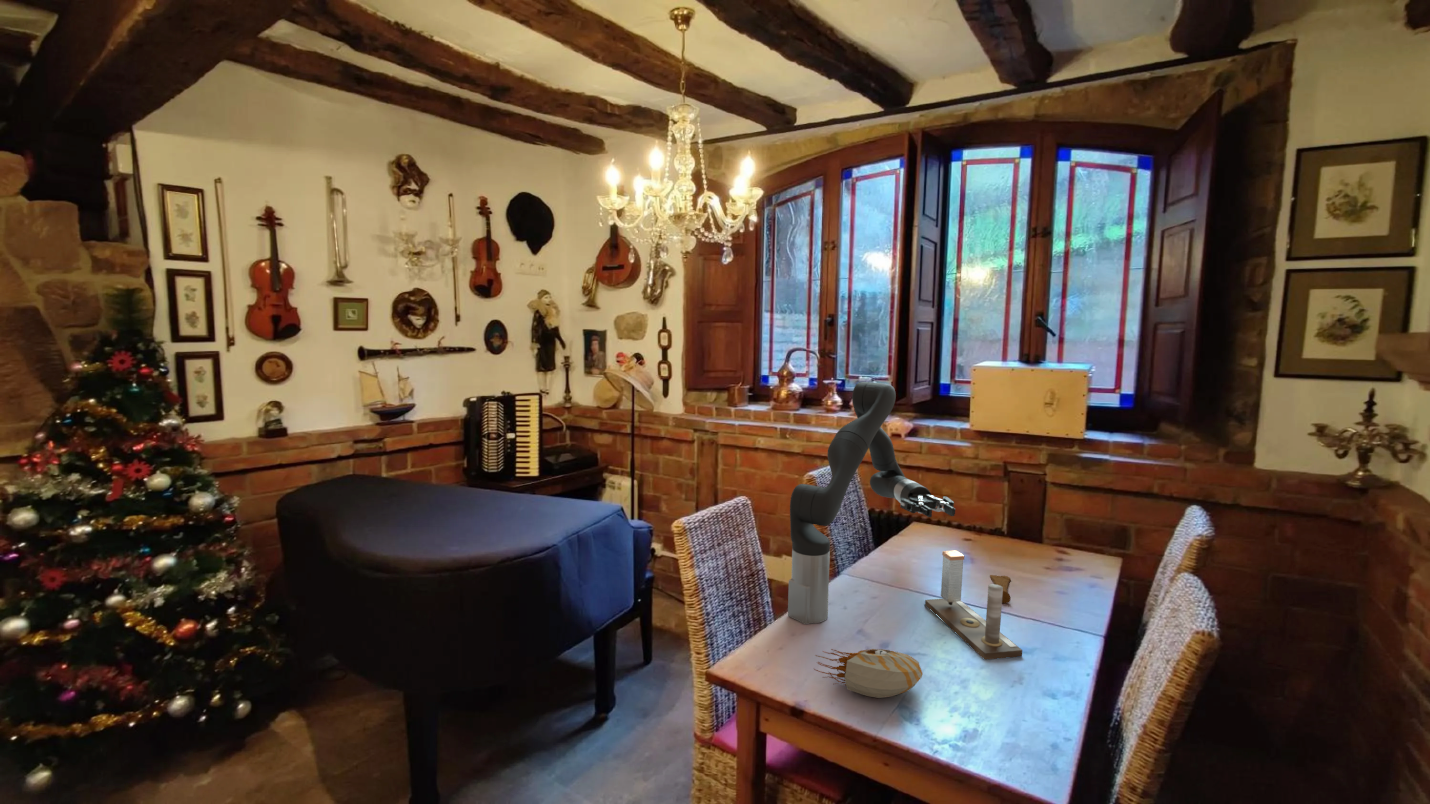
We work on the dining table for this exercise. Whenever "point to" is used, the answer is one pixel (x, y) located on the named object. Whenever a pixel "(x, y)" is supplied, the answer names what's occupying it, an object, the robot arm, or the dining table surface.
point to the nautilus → (877, 672)
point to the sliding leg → (952, 576)
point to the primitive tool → (1004, 583)
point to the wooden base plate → (978, 625)
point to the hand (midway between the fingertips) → (942, 512)
